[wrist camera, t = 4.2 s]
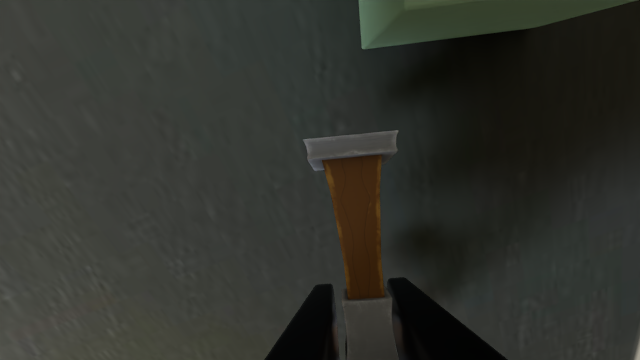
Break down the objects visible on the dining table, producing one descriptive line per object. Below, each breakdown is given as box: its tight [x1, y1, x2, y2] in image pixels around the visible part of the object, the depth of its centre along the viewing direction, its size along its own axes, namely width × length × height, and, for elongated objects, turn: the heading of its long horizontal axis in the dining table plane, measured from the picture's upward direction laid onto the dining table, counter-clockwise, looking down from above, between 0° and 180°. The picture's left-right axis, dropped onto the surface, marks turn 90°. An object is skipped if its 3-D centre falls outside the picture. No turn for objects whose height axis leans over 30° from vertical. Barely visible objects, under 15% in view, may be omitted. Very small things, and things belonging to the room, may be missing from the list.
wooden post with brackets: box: [303, 130, 399, 360], centre depth 7 cm, size 2×8×4 cm, turn 6°
